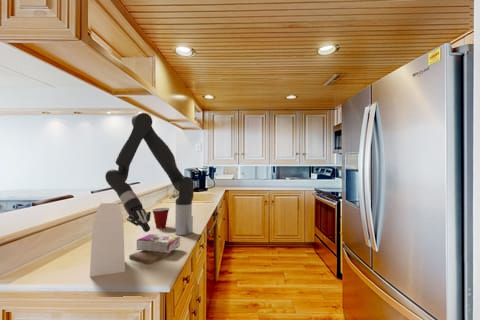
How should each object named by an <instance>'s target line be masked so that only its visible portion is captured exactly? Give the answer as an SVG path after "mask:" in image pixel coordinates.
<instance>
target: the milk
mask: <svg viewBox="0 0 480 320" xmlns="http://www.w3.org/2000/svg"><path fill="white" fill-rule="evenodd" d="M118 203H119V202H118V201H107V202H100V203H99V206H98V207H97V210H96V213H95V216H94V219H93V222H92V230H91V244H90V245H91V247H90V264H89V266H90V267H89V277H90V278H91V277H97V276H98V277H99V276H103V275H112V274H118V273H126V261H125V260H126V258H125V233H124V216H123V213H122V210H121V208H120V204H118Z"/></svg>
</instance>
